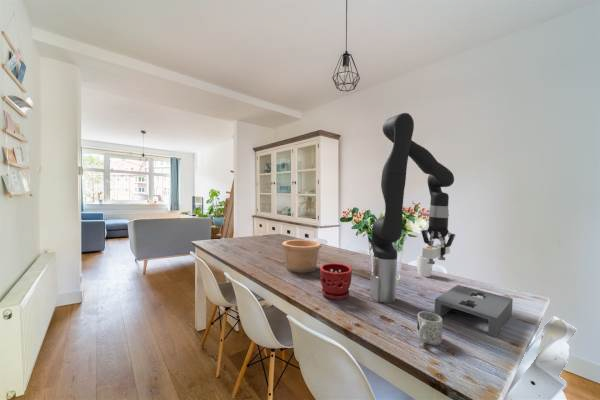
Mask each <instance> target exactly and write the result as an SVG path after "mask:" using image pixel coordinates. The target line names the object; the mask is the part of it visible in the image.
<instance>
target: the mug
mask: <svg viewBox="0 0 600 400" xmlns="http://www.w3.org/2000/svg"><path fill="white" fill-rule="evenodd" d="M416 323H417V324H416V325H417V327H416V328H417V329H416V338H417V339H418V340H419V341H418V342H419V343H425V344H426V345H432V346H438V345H441V344H442V340H443V339H442V337H443V336H442V335H443V318H442V317H440V316H439V315H437V314H434V312H430V311H419V312H418V313H417V322H416Z"/></svg>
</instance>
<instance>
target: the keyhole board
mask: <svg viewBox="0 0 600 400" xmlns="http://www.w3.org/2000/svg"><path fill="white" fill-rule="evenodd" d="M478 296H479V297H478ZM480 297H482V298H480ZM513 302H514V301H513V297H511V298H510V297H507V296H505V295H500V294H496V293H492V292H488V291H483V290H479V289H475V288H471V287H468V286H464V285H461V284H457V285H455V286H453V287H452V288H451V289H449V290H447V291H445V292H444V293H442V294H441V295H439V296H437V297H436V298H435V299H434V310H433V311H434V312H433V313H434V314H437V315H439V316H440V317H441V318H442V316H444V315H446V314H447V313H448V312H449V311H451V310H452V309H455V310H459V311H461V312H465V313H467V314H471V315H474V316H477V317H479V318H484V319H485V320H488V326H487V327H488V328H487V335H488V336H490V337H494V338H497V336H498V335H499V334H500V332H501V331H502V330H503V328H504V327H505V325H506V324H507V323H508V321H509V319H510V318H511V317H512V316H513V315H512V314H513ZM468 304H470V305H472V306H473V307H470V306H467V305H468Z"/></svg>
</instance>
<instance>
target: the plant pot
mask: <svg viewBox="0 0 600 400" xmlns="http://www.w3.org/2000/svg"><path fill="white" fill-rule="evenodd" d="M319 269H320V271H319V275H320V284H321V287H322V288H321V293H322V295H323V296H324V297H326V298H327V299H331V300H344V299H346V298H348V297H349V295H350V291H349V288H350V286H351V285H352V275H353V272H352V271H353V269H352V268H351V267H350V266H348V265H346V264H343V263H334V262H333V263H324V264H323V265H321V266H320V268H319ZM331 270H332V271H331Z"/></svg>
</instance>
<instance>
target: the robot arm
mask: <svg viewBox="0 0 600 400" xmlns="http://www.w3.org/2000/svg"><path fill="white" fill-rule="evenodd" d="M414 123H415V122H414V119H413V117H412V115H411V114H409V113H408V112H404V113H403V112H402V113H399V114H397V115H393V116H391V117H389V118H387V119H386V120H385V121H384V122H383V124H382V133H383V135H384V136H385V137H386V138H387V139H388V140H389V141H390V142H391V143H393V144H392V145H393V146H392V149H391V151H390V154H389V156H388V158H387V159H386V161H385V163H384V166H383V168H382V171H381V172H382V173H381V181H380V186H381V188H380V190H381V192H382V197H383V200H384V208H385V209H384V216H383V217H379V218H377V219H376V220H374V222H373V223H372V228H371V248H372V251H373V258H372V259H373V262H372V264H373V265H372V273H370V288H369V297H371V298H372V299H373V300H375V302H377V303H380V302H381V303H389V304H391V303H394V302H396V294H397V292H396V291H397V267H398V265H397V264H398V252H397V250H396V248H395V246H394V245H393V243H396V242H397V241H399V239H400V238H401V236H402V233H403V212H404V211H403V209H404V207H403V205H404V196H405V188H406V181H407V180H406V179H407V171H408V170H407V169H408V162H409V158H410V159H412V162H414V163H415V165H417V167H418V168H419V169H420V170H421V172H422V173H424V174H426V175H428V176H427V185H428V186H427V187H428V190H429V196H430V204H429V205H430V206H429V211H428V212H429V213H428V228H427V229H423V230H421V235H422V238H423V242H424V244H427V245H428V246H432V245H434V242H435V241H436V239H437V240H439V243H441V256H443V257H445V256H446V255H445V252H446V247H449V246H450V247H451V246H452V244H453V241H454V240H455V238H456V234H455V233H452V232H450V231H449V217H450V216H449V215H450V214H449V213H450V211H449V194H448V193H447V192H443V191H442V188H449V187H451V186H452V185H453V184H454V182H455V176H454V174H453V173H452V171H451V170H450V169H449V168H448V167H446V166H445V165H444V164H443V163H440V162H439V161H438V160H437V159H436V158H435V156H434V155H433V154H432V152H430V151H429V150H428V149H427V148H425V146H422V145H421V144H418V143H416V142H415V141H413V139H412V138H413V134H414V127H415V124H414ZM428 234H429V236H430V237H429V236H428ZM446 237H448V239H447V241H446Z"/></svg>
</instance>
